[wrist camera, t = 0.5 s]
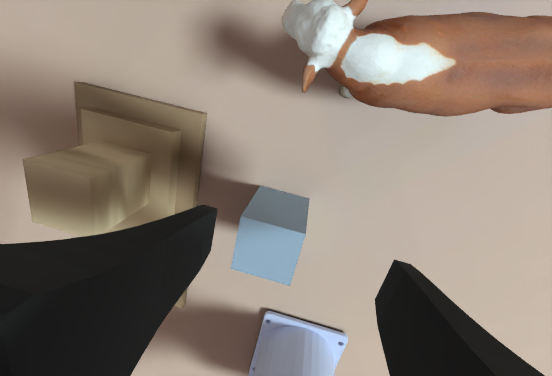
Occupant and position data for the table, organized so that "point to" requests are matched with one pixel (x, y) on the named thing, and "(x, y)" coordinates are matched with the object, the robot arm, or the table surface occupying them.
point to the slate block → (271, 235)
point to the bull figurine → (428, 58)
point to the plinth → (148, 146)
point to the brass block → (87, 187)
